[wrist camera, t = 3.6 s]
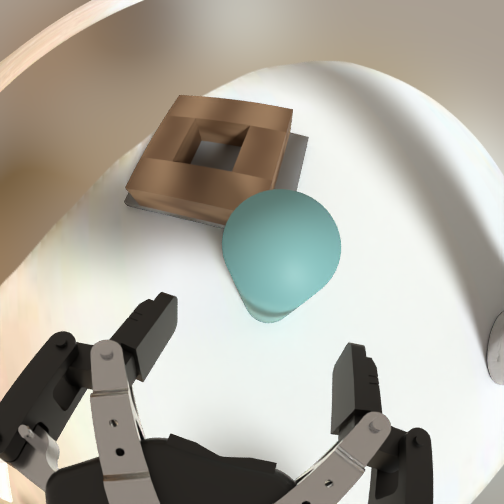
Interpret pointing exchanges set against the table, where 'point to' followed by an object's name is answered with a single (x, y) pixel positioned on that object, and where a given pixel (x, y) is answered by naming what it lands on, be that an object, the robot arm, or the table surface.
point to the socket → (215, 158)
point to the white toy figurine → (5, 482)
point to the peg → (280, 251)
